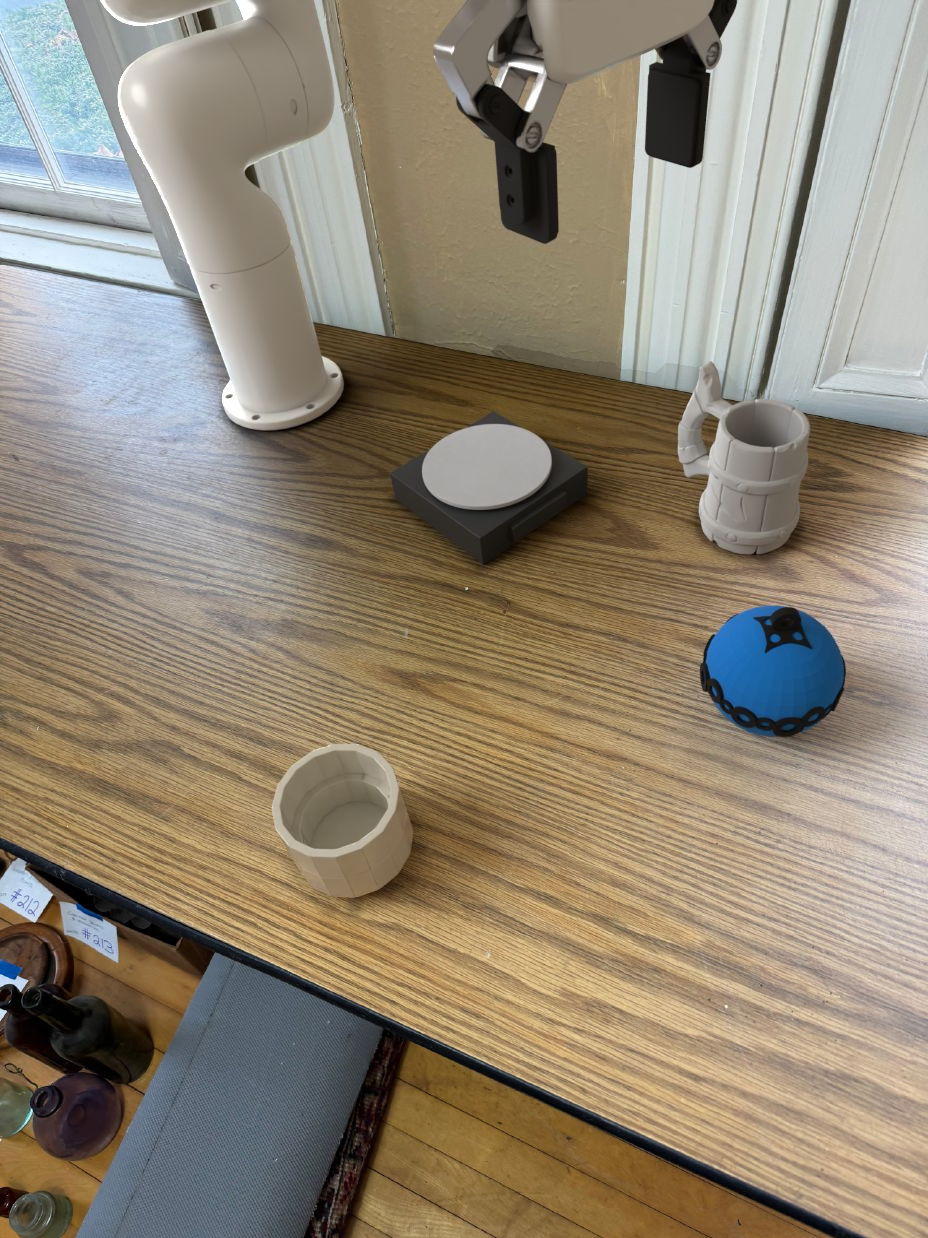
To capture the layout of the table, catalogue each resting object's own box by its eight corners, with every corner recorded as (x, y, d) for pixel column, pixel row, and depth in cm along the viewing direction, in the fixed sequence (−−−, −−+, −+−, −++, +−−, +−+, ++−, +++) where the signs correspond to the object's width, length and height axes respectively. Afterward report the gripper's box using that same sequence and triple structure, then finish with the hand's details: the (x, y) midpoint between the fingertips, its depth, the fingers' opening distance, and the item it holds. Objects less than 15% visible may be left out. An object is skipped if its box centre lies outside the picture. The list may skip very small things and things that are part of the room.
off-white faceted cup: (276, 843, 55) (249, 795, 50) (369, 773, 57) (350, 722, 53) (341, 927, 51) (317, 883, 46) (437, 847, 53) (423, 799, 49)
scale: (395, 499, 76) (388, 466, 73) (495, 437, 80) (492, 403, 78) (487, 568, 69) (483, 534, 66) (592, 496, 73) (592, 461, 71)
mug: (747, 572, 66) (772, 446, 57) (643, 496, 73) (650, 373, 64) (817, 528, 68) (851, 400, 59) (709, 458, 75) (725, 334, 66)
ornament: (808, 654, 60) (839, 552, 52) (847, 759, 54) (888, 661, 47) (684, 665, 61) (697, 565, 53) (710, 770, 55) (729, 674, 47)
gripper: (694, -361, 33) (665, 120, 46) (331, -295, 27) (414, 242, 40) (869, -387, 29) (784, 151, 42) (487, -316, 23) (524, 292, 35)
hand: (604, 195), depth 41 cm, fingers open, 9 cm apart
